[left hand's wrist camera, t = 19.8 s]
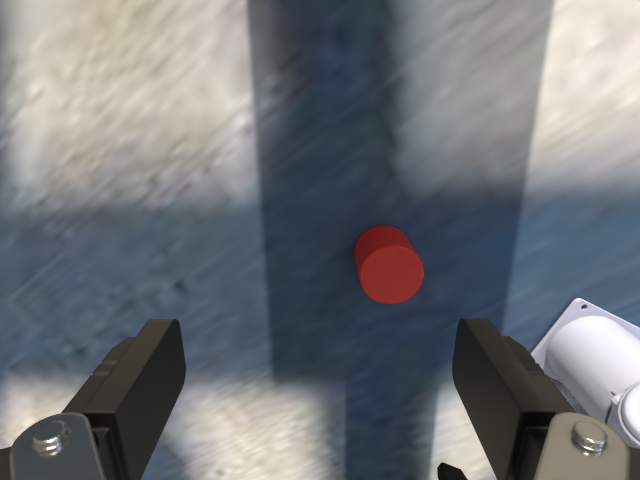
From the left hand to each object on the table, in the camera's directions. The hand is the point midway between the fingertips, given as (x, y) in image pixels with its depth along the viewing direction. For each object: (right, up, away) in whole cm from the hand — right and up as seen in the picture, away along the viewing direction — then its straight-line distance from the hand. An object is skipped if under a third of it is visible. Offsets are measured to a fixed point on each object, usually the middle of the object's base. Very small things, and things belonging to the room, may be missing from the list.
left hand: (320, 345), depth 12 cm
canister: (+5, +2, +23) cm, 24 cm away
